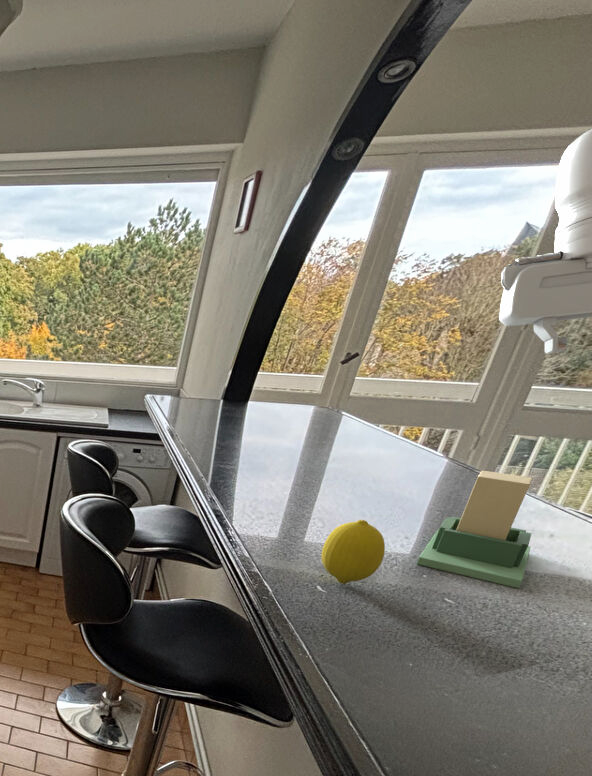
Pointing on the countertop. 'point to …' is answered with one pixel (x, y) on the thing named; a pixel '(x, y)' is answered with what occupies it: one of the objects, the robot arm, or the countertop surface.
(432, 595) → the countertop surface
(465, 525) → the cream pad
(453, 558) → the base holder
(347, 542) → the lemon
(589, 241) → the robot arm
